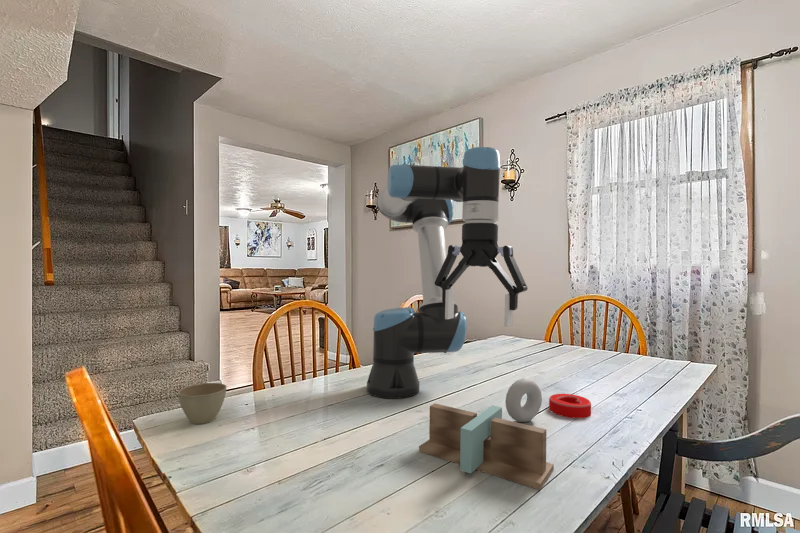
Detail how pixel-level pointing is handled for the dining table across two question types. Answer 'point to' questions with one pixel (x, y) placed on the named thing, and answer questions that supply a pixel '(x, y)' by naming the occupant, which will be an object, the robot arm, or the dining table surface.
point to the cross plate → (476, 438)
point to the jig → (492, 446)
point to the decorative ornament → (570, 405)
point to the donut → (516, 395)
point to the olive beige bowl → (202, 401)
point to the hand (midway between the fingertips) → (477, 322)
